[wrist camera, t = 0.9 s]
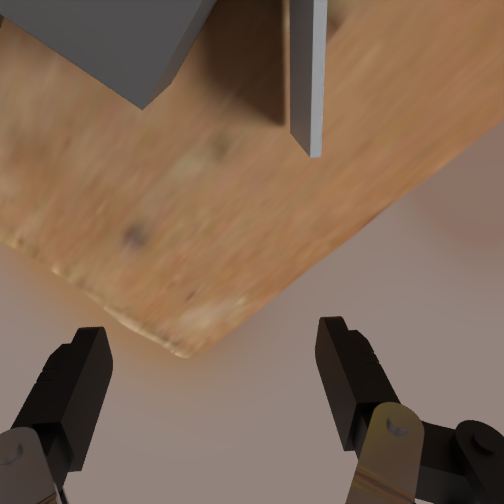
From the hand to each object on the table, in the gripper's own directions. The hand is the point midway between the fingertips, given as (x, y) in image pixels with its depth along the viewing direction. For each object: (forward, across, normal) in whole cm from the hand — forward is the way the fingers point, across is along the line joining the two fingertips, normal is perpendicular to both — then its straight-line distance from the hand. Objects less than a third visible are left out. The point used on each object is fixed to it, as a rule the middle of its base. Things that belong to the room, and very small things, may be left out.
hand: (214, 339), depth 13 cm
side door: (+19, -6, -10) cm, 23 cm away
